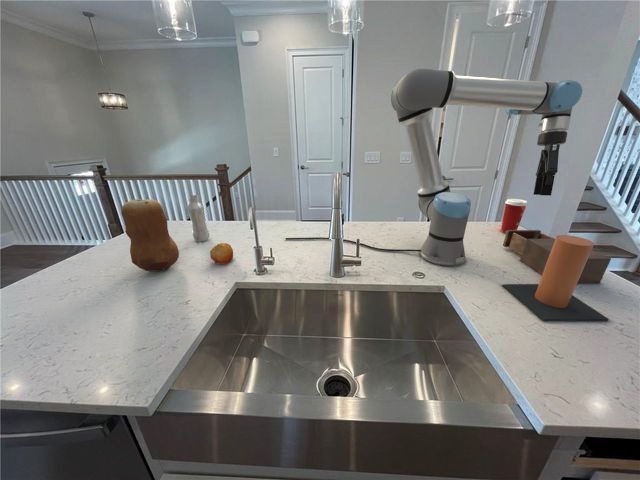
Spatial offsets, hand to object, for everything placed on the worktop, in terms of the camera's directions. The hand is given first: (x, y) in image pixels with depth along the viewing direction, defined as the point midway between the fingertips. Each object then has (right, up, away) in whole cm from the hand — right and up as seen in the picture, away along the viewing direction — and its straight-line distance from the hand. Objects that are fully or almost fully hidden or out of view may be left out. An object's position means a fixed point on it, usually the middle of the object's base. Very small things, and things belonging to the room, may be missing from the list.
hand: (541, 195), depth 93 cm
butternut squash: (-137, -27, -1) cm, 139 cm away
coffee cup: (+8, -12, +28) cm, 32 cm away
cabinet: (0, -27, -6) cm, 27 cm away
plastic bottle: (-133, -16, +23) cm, 136 cm away
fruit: (-116, -24, +3) cm, 118 cm away
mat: (-16, -33, -21) cm, 43 cm away
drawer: (0, -20, +7) cm, 22 cm away
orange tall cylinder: (-16, -33, -22) cm, 42 cm away
